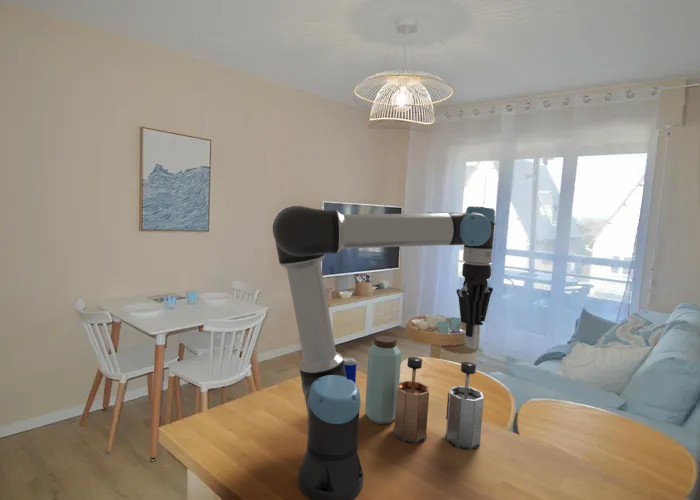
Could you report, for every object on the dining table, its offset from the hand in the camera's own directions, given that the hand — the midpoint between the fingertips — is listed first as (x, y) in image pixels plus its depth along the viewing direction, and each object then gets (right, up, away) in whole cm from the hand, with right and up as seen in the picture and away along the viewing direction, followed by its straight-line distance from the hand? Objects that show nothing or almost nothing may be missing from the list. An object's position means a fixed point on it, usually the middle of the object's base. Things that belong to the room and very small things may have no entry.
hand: (471, 347), depth 115 cm
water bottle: (-24, -25, +13) cm, 37 cm away
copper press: (-16, -26, +4) cm, 31 cm away
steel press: (-2, -27, +2) cm, 27 cm away
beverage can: (-35, -24, +22) cm, 48 cm away
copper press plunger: (-16, -15, +3) cm, 22 cm away
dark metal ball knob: (-1, -15, +1) cm, 16 cm away
